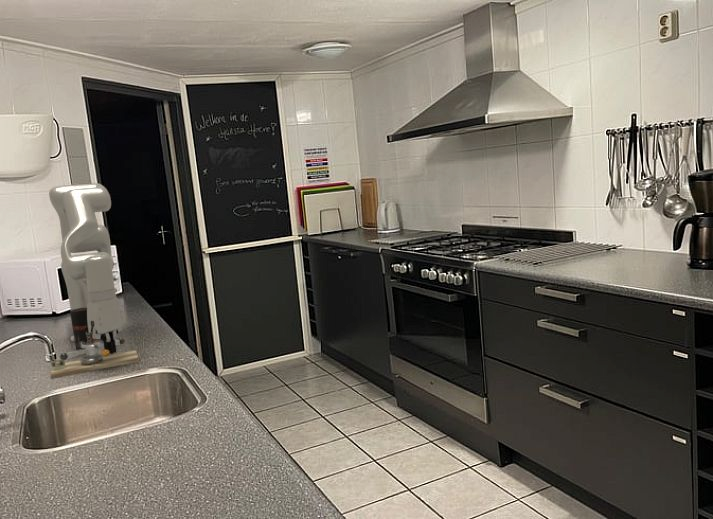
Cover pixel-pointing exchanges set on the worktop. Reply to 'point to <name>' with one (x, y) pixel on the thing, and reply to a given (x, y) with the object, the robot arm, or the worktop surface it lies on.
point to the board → (92, 364)
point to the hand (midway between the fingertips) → (110, 352)
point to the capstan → (90, 351)
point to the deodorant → (80, 326)
